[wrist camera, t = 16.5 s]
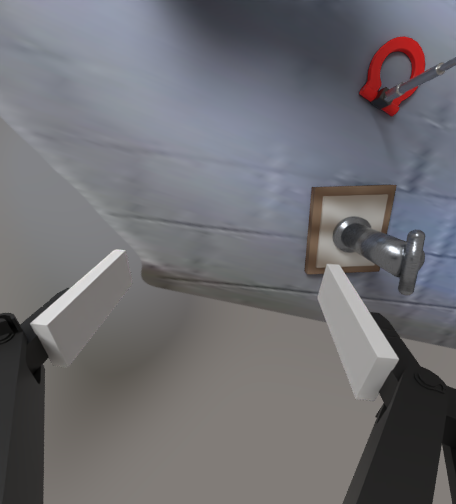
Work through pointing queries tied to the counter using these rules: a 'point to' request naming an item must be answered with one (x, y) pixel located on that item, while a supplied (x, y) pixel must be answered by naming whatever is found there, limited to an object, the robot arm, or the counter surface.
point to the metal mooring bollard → (383, 249)
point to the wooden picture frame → (335, 210)
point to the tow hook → (394, 96)
